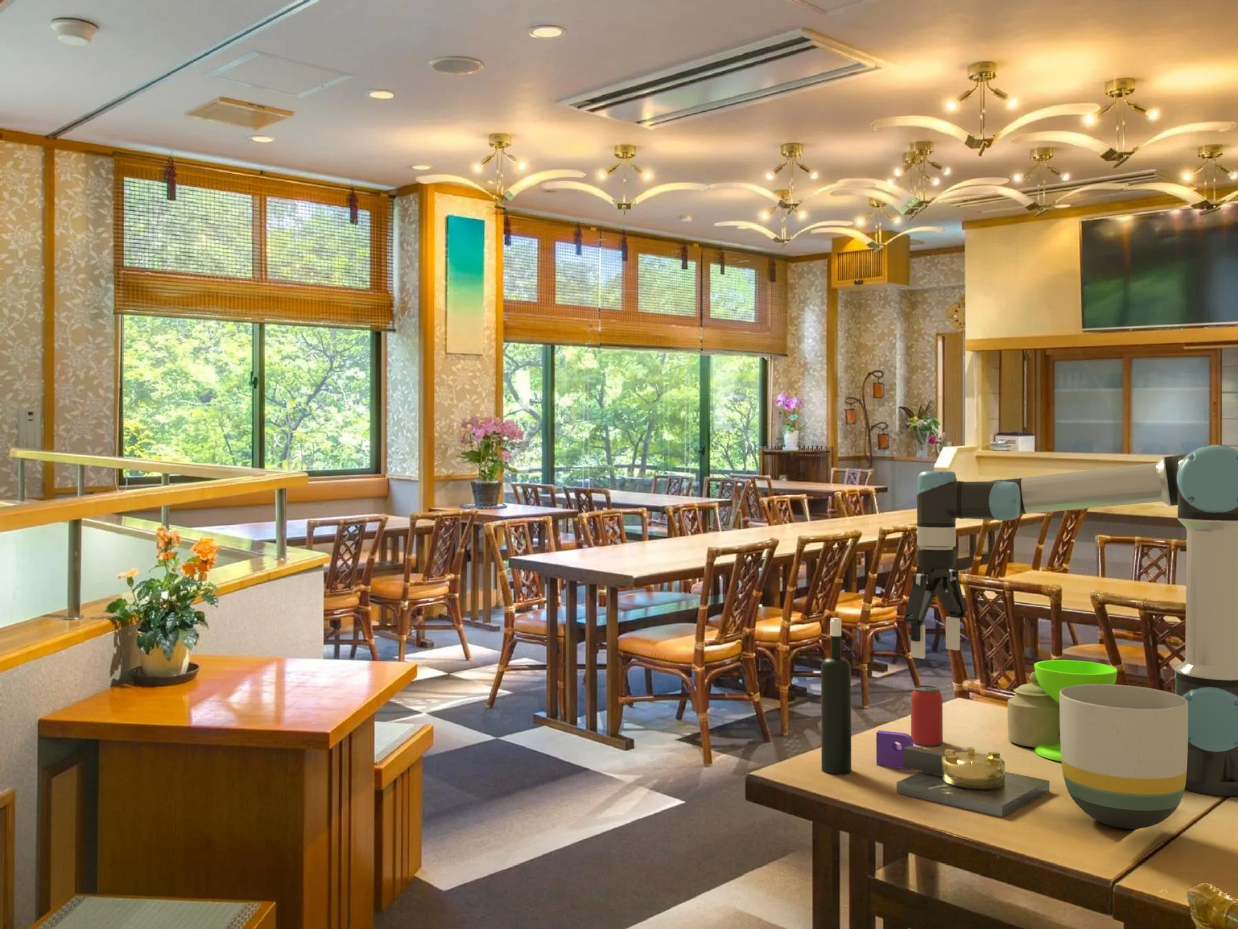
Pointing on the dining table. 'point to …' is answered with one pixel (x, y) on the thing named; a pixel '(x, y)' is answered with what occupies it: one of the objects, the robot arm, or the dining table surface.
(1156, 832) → the dining table surface
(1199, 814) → the dining table surface
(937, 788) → the plate
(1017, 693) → the sugar bowl
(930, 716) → the beer can
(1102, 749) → the planter
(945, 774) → the gold tabbed disc
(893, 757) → the bracket
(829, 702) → the wine bottle
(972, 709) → the dining table surface
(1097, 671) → the wineglass
